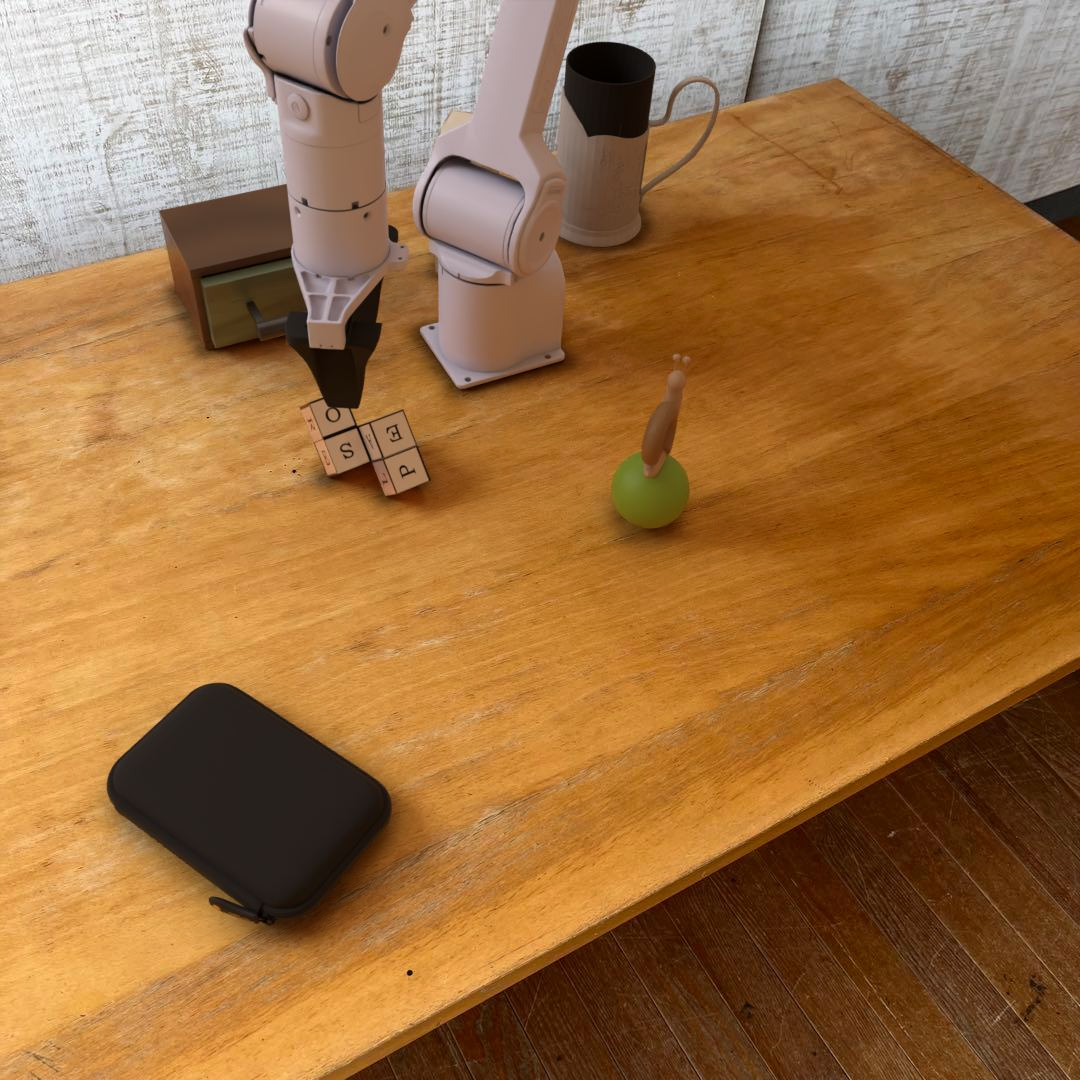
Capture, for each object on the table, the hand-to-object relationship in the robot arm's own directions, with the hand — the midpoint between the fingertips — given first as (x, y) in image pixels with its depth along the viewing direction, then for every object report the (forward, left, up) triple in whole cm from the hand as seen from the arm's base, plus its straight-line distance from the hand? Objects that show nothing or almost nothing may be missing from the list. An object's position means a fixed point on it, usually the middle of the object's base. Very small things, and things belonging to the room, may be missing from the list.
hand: (351, 366), depth 78 cm
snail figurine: (-17, +12, -10) cm, 23 cm away
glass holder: (-34, -20, -10) cm, 41 cm away
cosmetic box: (-18, -20, -10) cm, 29 cm away
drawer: (0, -18, -9) cm, 19 cm away
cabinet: (0, -21, -9) cm, 23 cm away
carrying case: (+16, +24, -10) cm, 30 cm away
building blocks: (0, +1, -10) cm, 10 cm away
